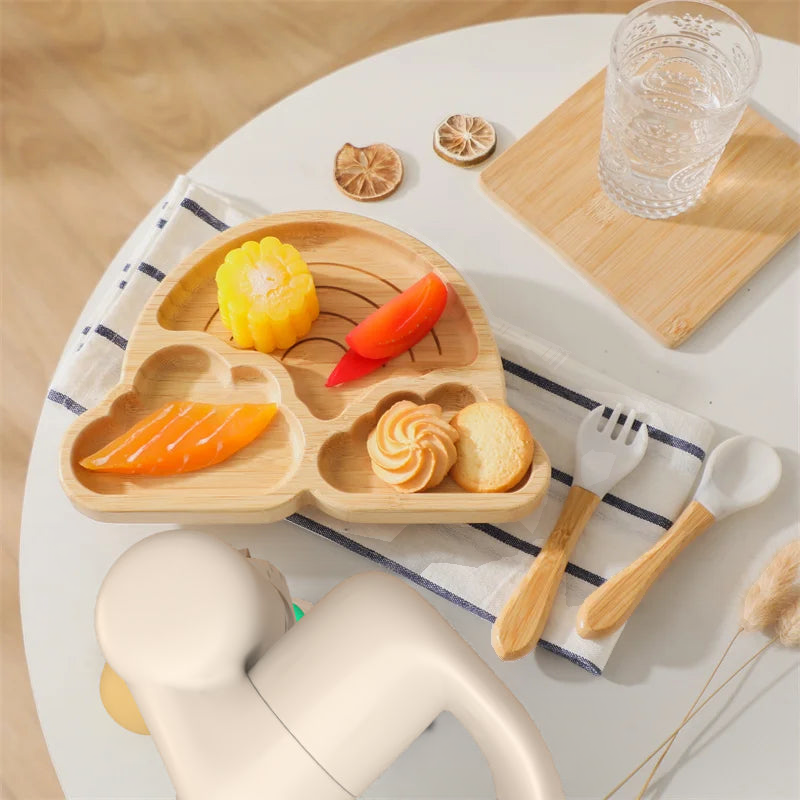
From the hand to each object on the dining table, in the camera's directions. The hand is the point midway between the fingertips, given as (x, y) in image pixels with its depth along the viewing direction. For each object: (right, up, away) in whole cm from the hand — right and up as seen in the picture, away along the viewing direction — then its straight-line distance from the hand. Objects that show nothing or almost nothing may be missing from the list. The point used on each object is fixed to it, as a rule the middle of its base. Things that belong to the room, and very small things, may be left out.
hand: (277, 659), depth 68 cm
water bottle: (-1, -11, +41) cm, 43 cm away
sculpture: (-19, -14, +41) cm, 47 cm away
